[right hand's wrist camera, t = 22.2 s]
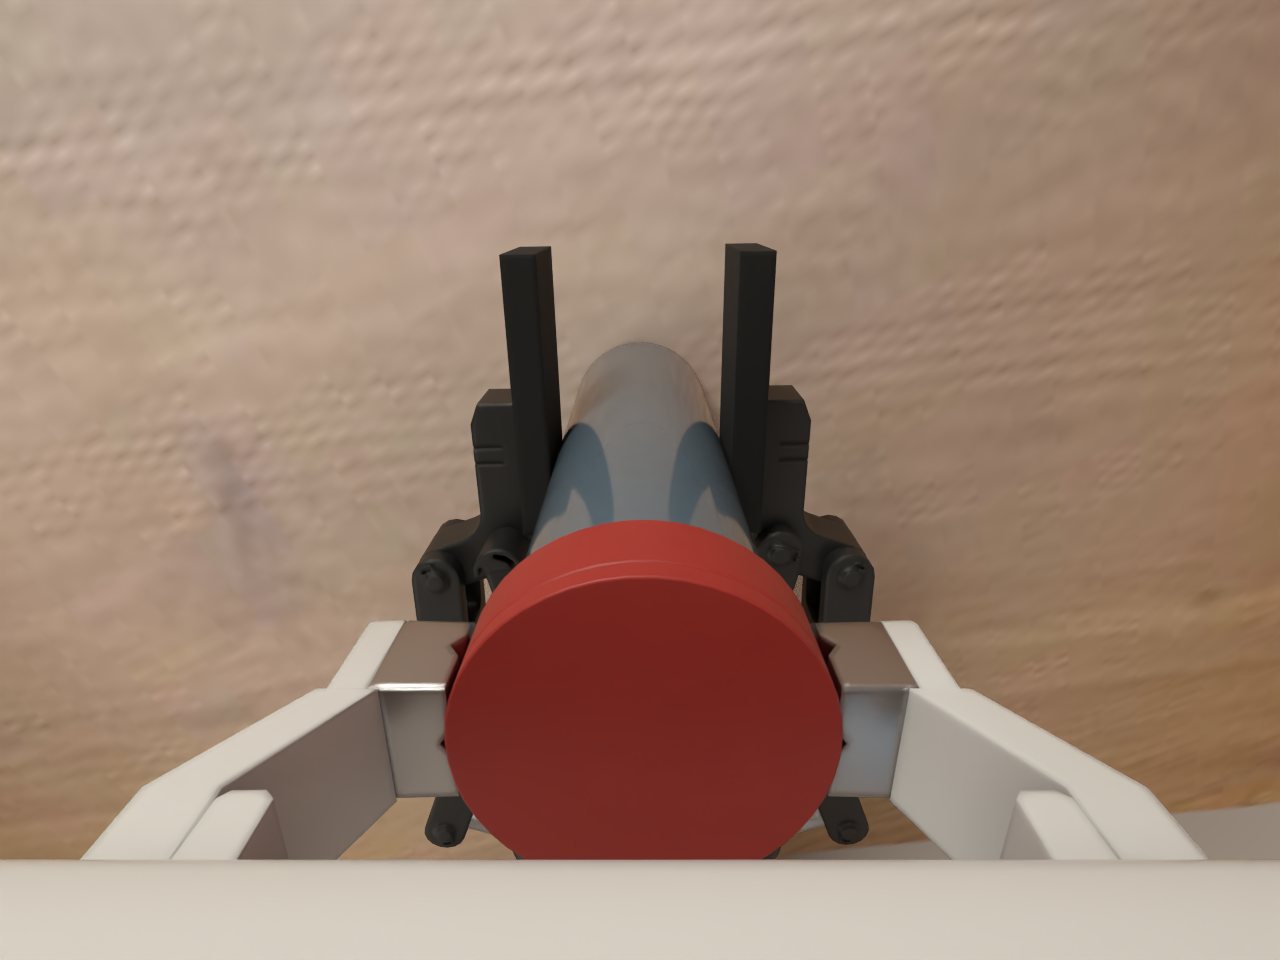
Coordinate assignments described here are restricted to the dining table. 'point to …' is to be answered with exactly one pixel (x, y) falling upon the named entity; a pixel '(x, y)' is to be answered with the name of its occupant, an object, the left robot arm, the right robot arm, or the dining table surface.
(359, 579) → the dining table surface
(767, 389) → the left robot arm
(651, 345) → the jar
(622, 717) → the lid
